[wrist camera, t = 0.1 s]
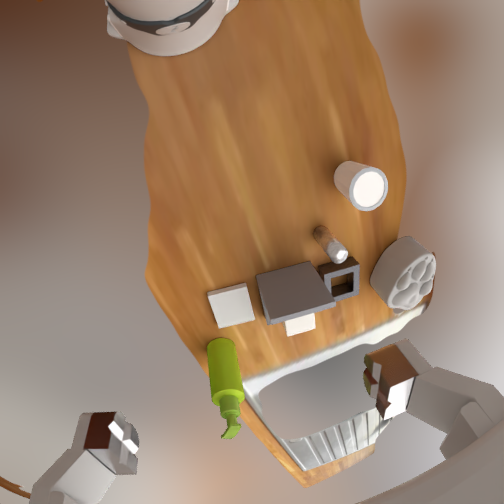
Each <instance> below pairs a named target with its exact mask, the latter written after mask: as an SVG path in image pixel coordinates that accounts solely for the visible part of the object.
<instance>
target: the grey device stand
mask: <svg viewBox="0 0 504 504" xmlns="http://www.w3.org/2000/svg"><path fill="white" fill-rule="evenodd" d="M256 279H257V283H258V288H259V292H260V297H261V301H262V306H263V310H264V315H265V319H266V322H267V325H270V324H272V325H273V324H276V323H280V322H284V321H287V320H291V319H294V318H298V317H302V316H305V315H308V314H312V313H315V312H319V311H322V310H325V309H329V308H332V307H335V306H336V301H335V299H334V298H333V296H332V295H331V293H330V291H329V290H328V288H327V287H326V285H325V284H324V282H323V281H322V279H321V277H320V276H319V274H318V273H317V271H316V270H315V268H314V267H313V265H312V263H311V262H310V261H308V262H305V263H301V264H297V265H293V266H290V267H286V268H282V269H278V270H274V271H270V272H267V273H263V274H259V275H256Z"/></svg>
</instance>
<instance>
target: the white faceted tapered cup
mask: <svg viewBox="0 0 504 504" xmlns="http://www.w3.org/2000/svg"><path fill="white" fill-rule="evenodd" d="M334 184H335V186H336V187H337V189H338V190H339V191H340V192H341V193H342V194H343V195H344V196H345V197H346V198H347V199H348V200H349V201H350V202H351V203H352V205H353V206H355V207H356V208H357V209H359V210H362V211H370V210H374V209H375V208H377V207H378V206H379V205H381V203H382V202H383V200H384V199H385V197H386V194H387V191H388V181H387V179H386V176H385V174H384V173H383V172H382V171H381V170H380V169H377V168H374V167H371V166H367V165H364V164H360V163H357V162H353V161H346V162H343V163H342V164H340V165H339V166H338V168H337V169H336V170H335V174H334Z"/></svg>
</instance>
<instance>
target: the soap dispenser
mask: <svg viewBox="0 0 504 504" xmlns="http://www.w3.org/2000/svg"><path fill="white" fill-rule="evenodd" d="M207 356H208V367H209V377H210V387H211V397H212V402H213V403H214V404H215V405H217V406H220V412H221V416H222V417H223V418H225V419H227V426H228V428H227V429H226V431H225V432H224V434H223V435H221V438H224V439H232V438H233V437H235V436H236V434H237V433H238V431H239V430H240V428H241V424H237V419H236V418H237V417H239V416H240V407H239V404H240V403H241V402H242V401H243V400H244V398H245V395H244V390H243V385H242V380H241V375H240V369H239V364H238V359H237V353H236V348H235V344H234V342H233V341H231V340H229V339H226V338H218V339H214V340H212V341H211V342H210V343H209V344H208V346H207Z"/></svg>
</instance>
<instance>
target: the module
mask: <svg viewBox="0 0 504 504" xmlns="http://www.w3.org/2000/svg"><path fill="white" fill-rule="evenodd" d="M282 323H283V326H284V329H285V331H286V334H287V337H288V336H291V335H295V334H298V333H302V332H305V331H309V330H312V329H315V316H314V313H312V314H308V315H305V316H302V317H298V318H294V319H291V320H287V321H284V322H282Z"/></svg>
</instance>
